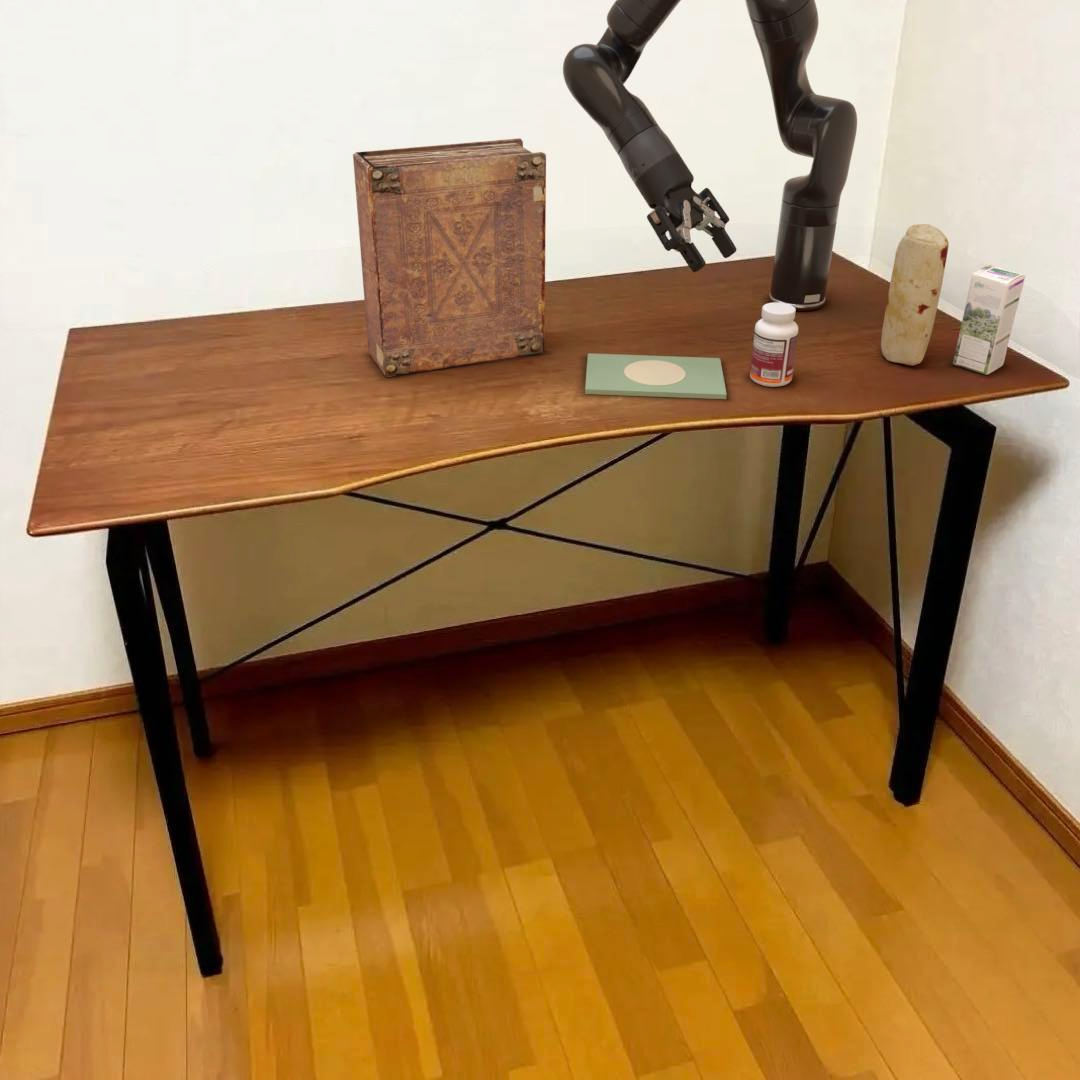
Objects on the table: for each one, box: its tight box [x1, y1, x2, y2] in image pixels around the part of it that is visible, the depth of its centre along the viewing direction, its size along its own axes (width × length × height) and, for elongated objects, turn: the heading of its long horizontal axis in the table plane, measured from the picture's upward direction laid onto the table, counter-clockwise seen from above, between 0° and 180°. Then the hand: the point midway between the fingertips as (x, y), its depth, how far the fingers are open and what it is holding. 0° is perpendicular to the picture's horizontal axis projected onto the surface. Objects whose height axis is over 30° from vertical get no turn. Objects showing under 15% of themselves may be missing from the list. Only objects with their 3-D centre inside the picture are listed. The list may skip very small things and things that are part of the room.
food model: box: [880, 223, 950, 366], centre depth 166 cm, size 10×7×20 cm
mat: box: [584, 353, 728, 400], centre depth 164 cm, size 13×20×1 cm, turn 86°
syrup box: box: [952, 264, 1026, 376], centre depth 165 cm, size 6×6×14 cm
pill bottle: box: [749, 302, 799, 388], centre depth 161 cm, size 6×6×11 cm
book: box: [352, 137, 547, 378], centre depth 163 cm, size 25×9×30 cm, turn 112°
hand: (716, 261), depth 161 cm, fingers open, 8 cm apart
